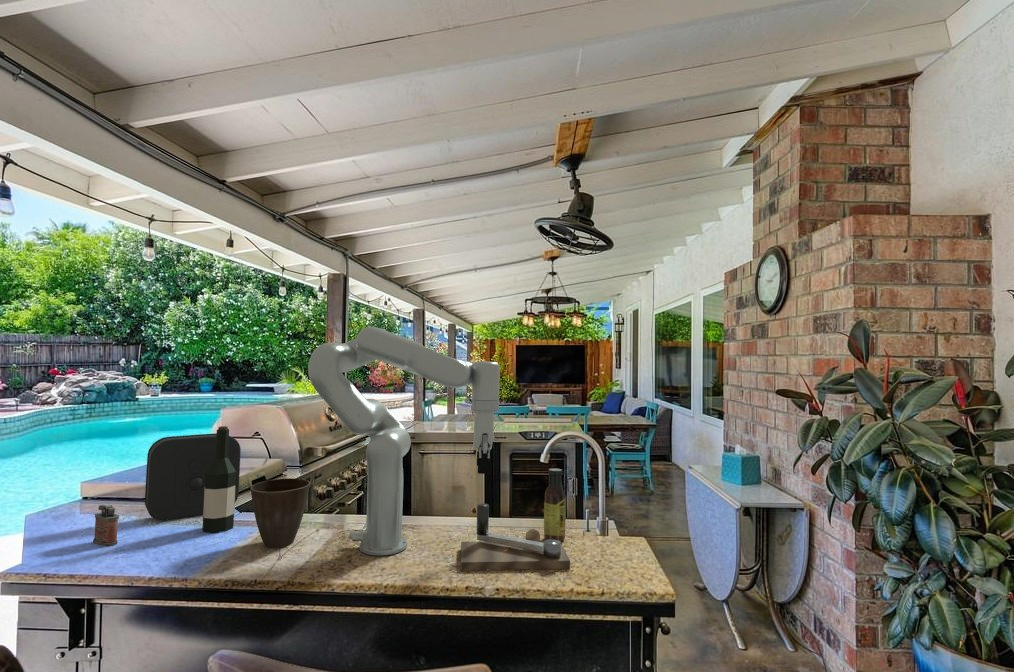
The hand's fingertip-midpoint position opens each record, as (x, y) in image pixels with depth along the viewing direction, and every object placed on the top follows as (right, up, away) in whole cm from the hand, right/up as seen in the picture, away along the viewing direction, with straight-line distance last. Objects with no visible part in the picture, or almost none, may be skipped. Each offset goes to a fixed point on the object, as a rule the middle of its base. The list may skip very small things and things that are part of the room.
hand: (482, 469), depth 135 cm
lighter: (-102, -20, -1) cm, 104 cm away
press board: (+8, -21, -7) cm, 24 cm away
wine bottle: (-79, -21, +12) cm, 83 cm away
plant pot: (-56, -21, +1) cm, 60 cm away
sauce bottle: (+20, -23, +9) cm, 32 cm away
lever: (+9, -19, -5) cm, 22 cm away
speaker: (-95, -21, +25) cm, 101 cm away
